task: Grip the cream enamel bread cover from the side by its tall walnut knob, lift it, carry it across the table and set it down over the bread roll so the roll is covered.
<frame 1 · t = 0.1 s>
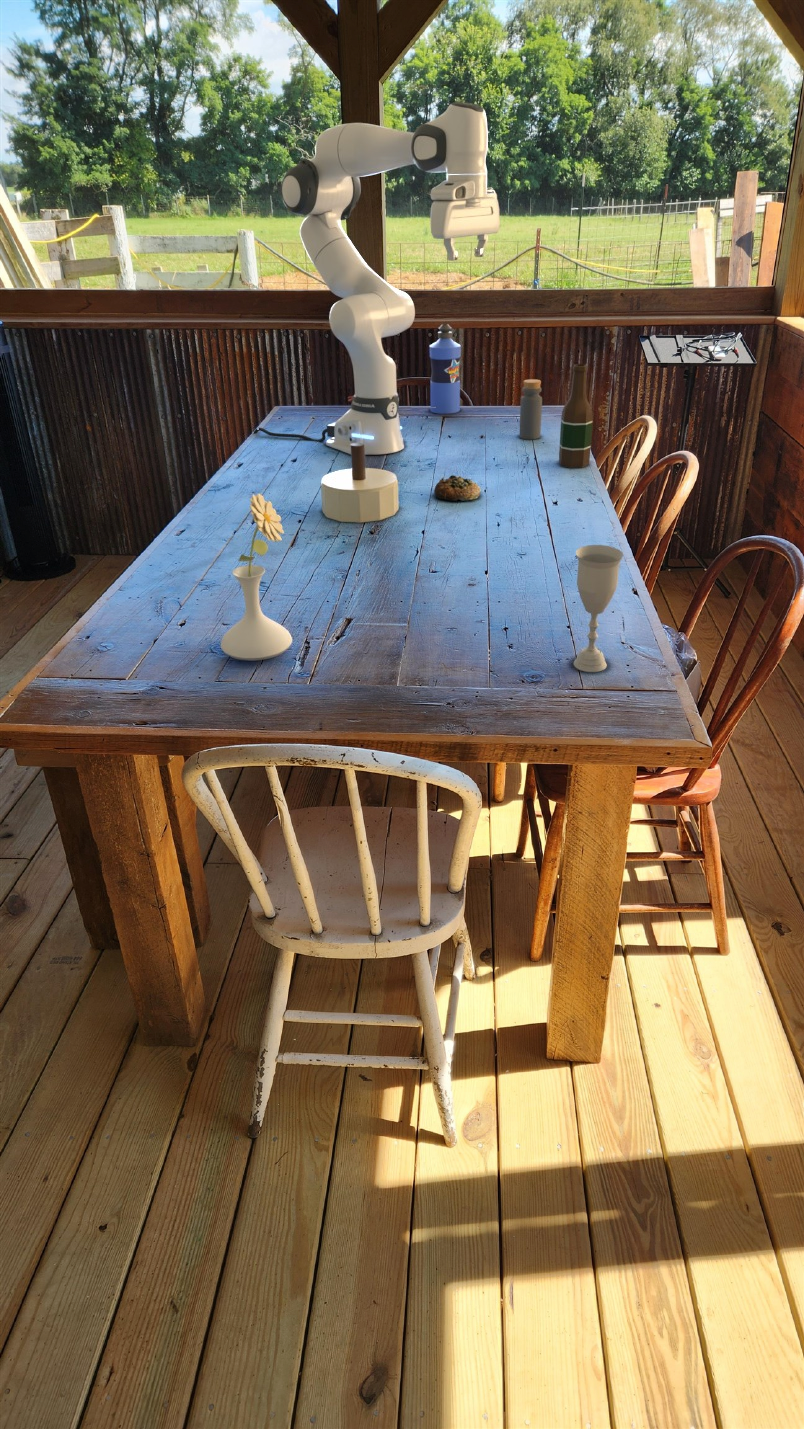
hand: (466, 258, 218), 48 cm above the table, tool pointing down, fingers open, 8 cm apart
beer bottle: (573, 464, 243), on the table
bread cover: (360, 510, 215), on the table
water bottle: (445, 410, 297), on the table
bottle: (529, 437, 267), on the table
flower in vase: (260, 650, 155), on the table
bread roll: (458, 496, 223), on the table
chalice: (590, 665, 148), on the table
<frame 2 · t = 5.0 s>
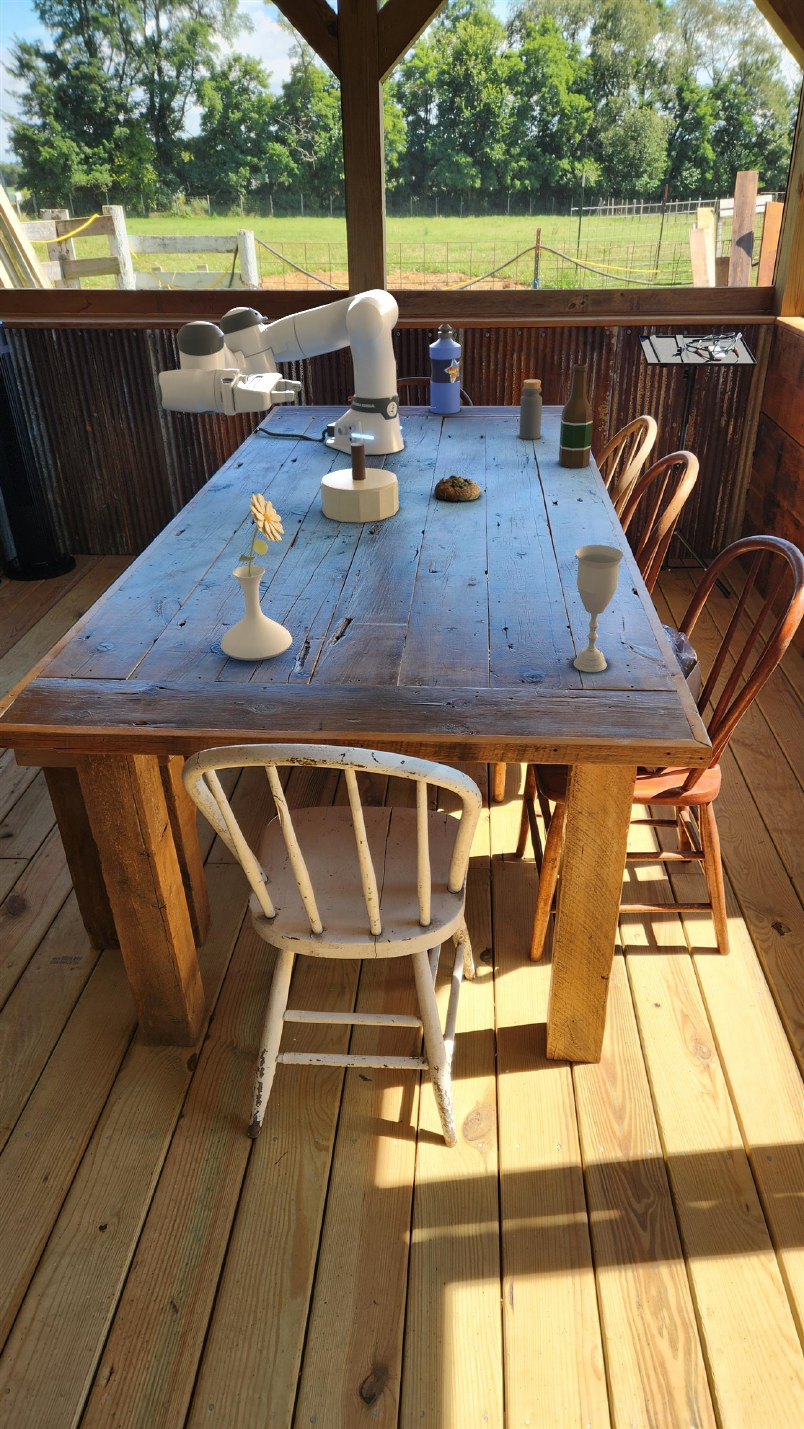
hand: (297, 390, 203), 26 cm above the table, tool horizontal, fingers open, 8 cm apart
nothing on the table moved.
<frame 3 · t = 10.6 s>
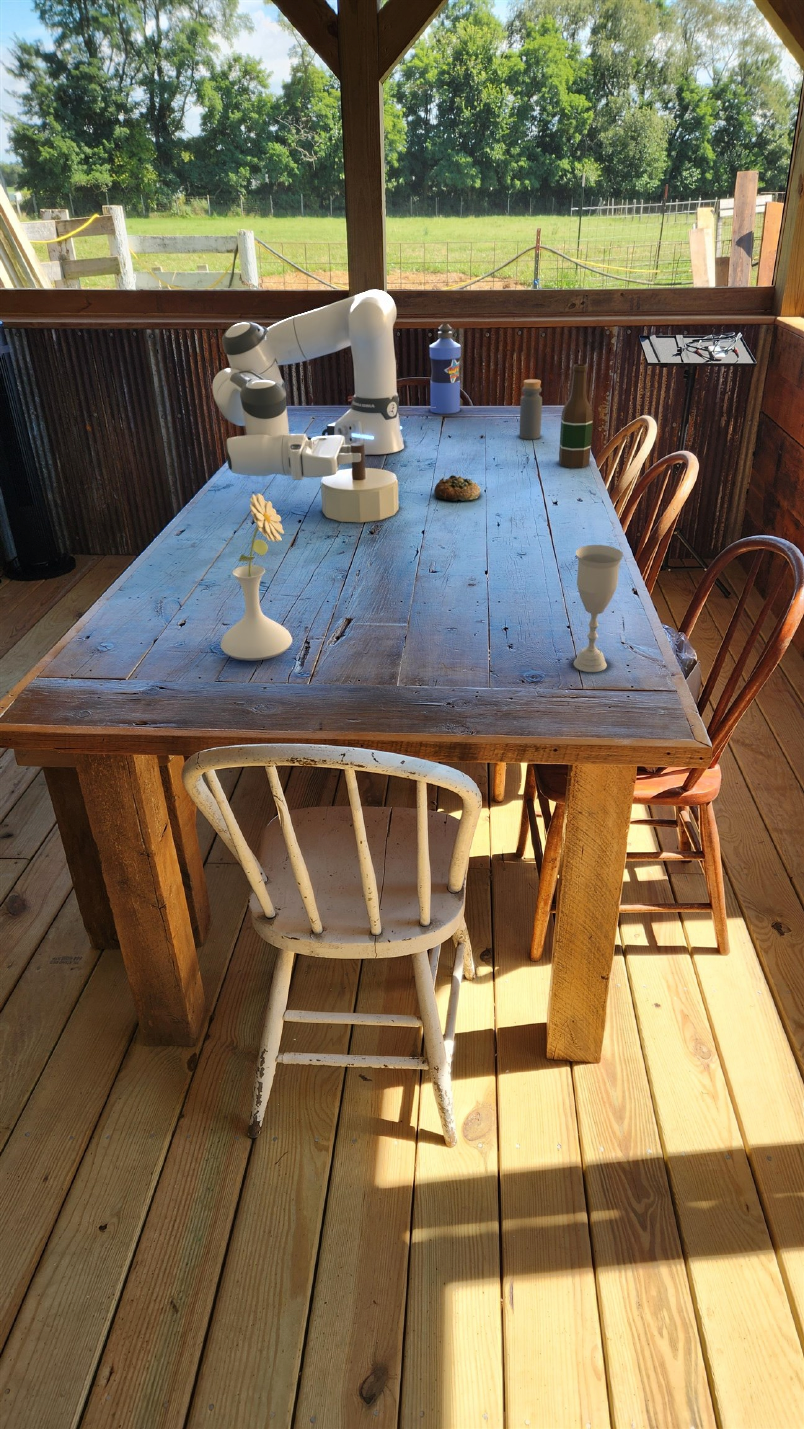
hand: (361, 454, 209), 13 cm above the table, tool horizontal, fingers closed on bread cover, 3 cm apart
bread cover: (360, 509, 215), on the table, touching gripper
everything else where it was.
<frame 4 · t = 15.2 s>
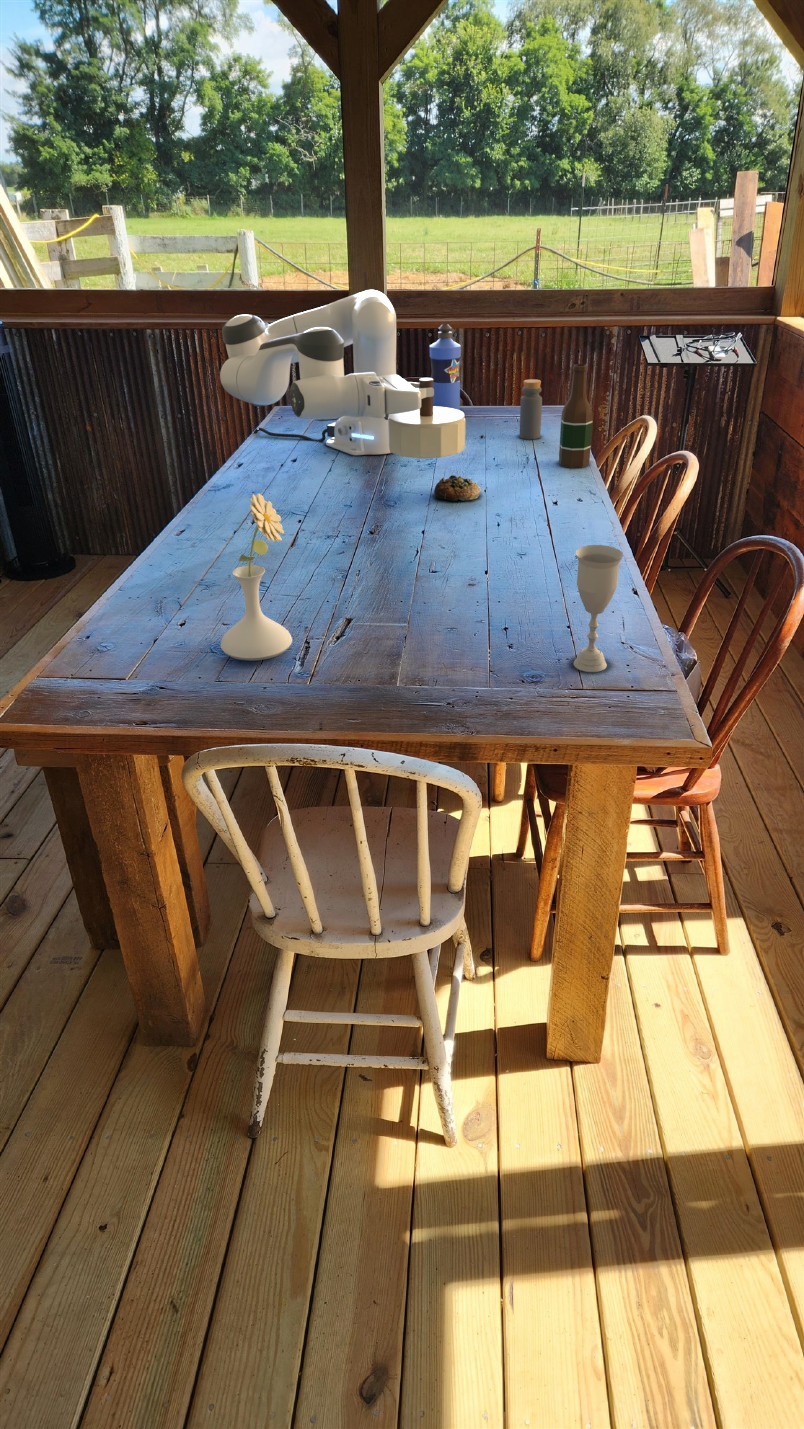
hand: (430, 389, 207), 25 cm above the table, tool horizontal, fingers closed on bread cover, 3 cm apart
bread cover: (426, 447, 213), point 12 cm above the table, touching gripper
everything else where it was.
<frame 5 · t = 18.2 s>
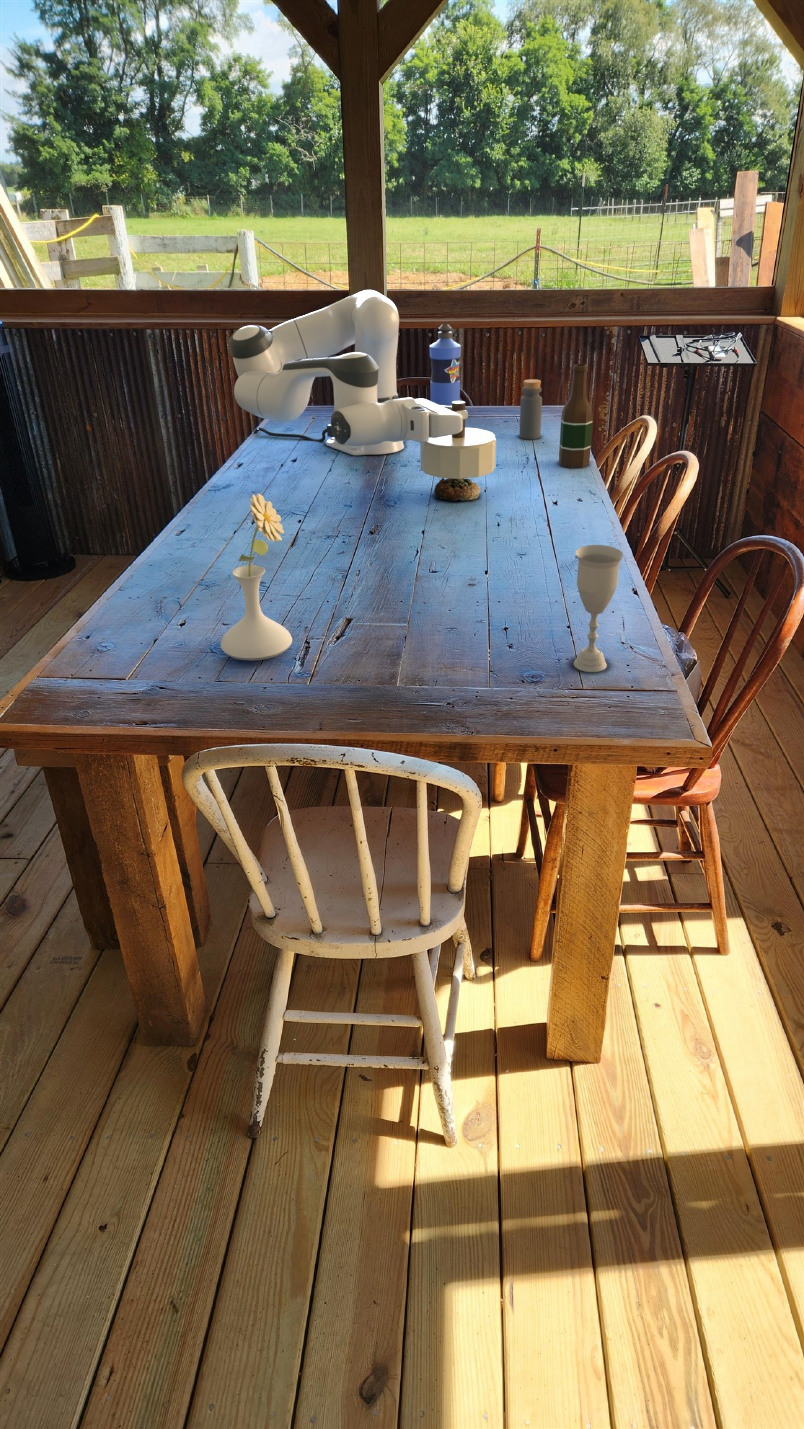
hand: (462, 411, 213), 19 cm above the table, tool horizontal, fingers closed on bread cover, 3 cm apart
bread cover: (458, 468, 219), point 6 cm above the table, touching gripper
everything else where it was.
when the fingers open (13 cm above the table, at t = 20.2 s): bread cover stays where it is, on the table.
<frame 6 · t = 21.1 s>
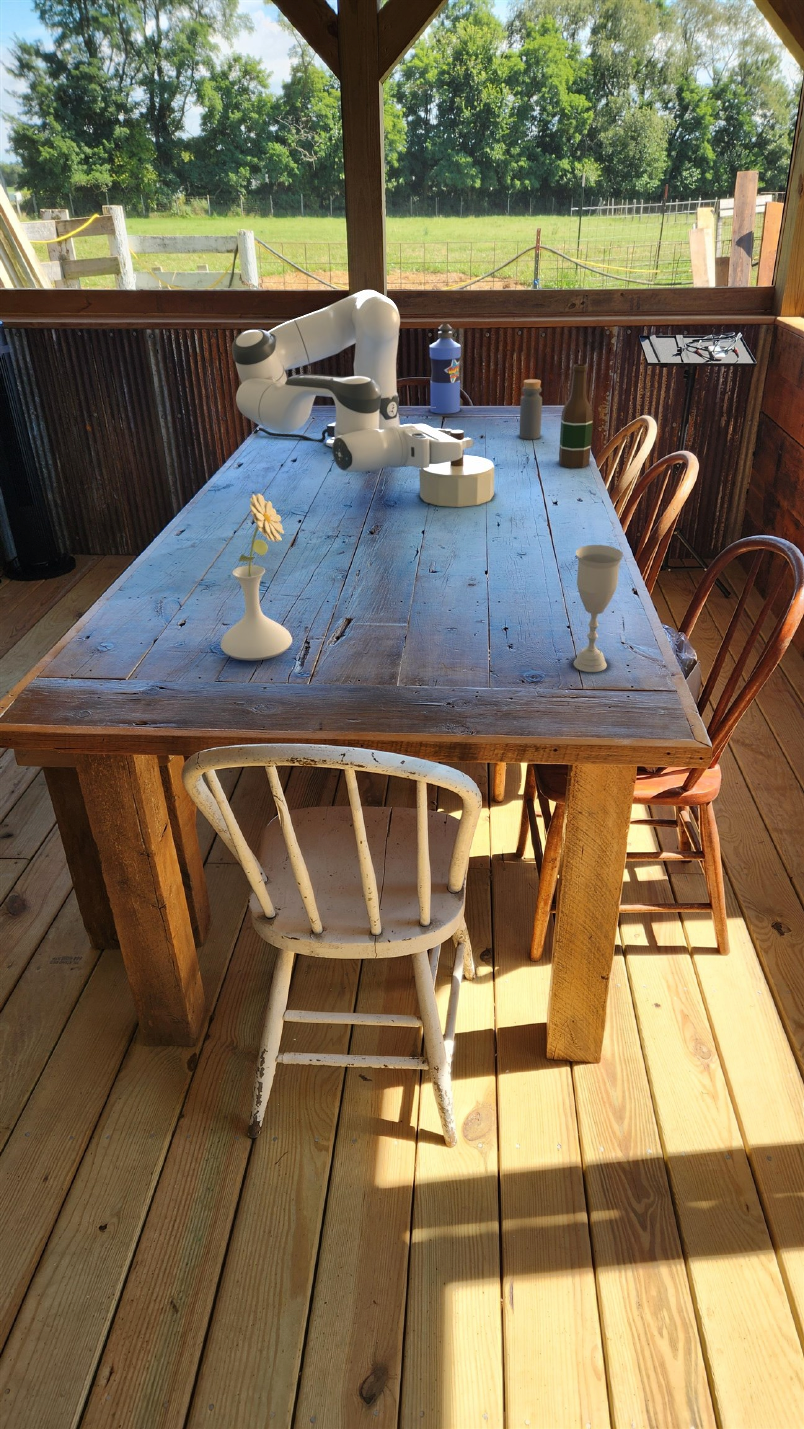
hand: (461, 437, 216), 13 cm above the table, tool horizontal, fingers open, 8 cm apart
bread cover: (456, 495, 223), on the table
everything else where it was.
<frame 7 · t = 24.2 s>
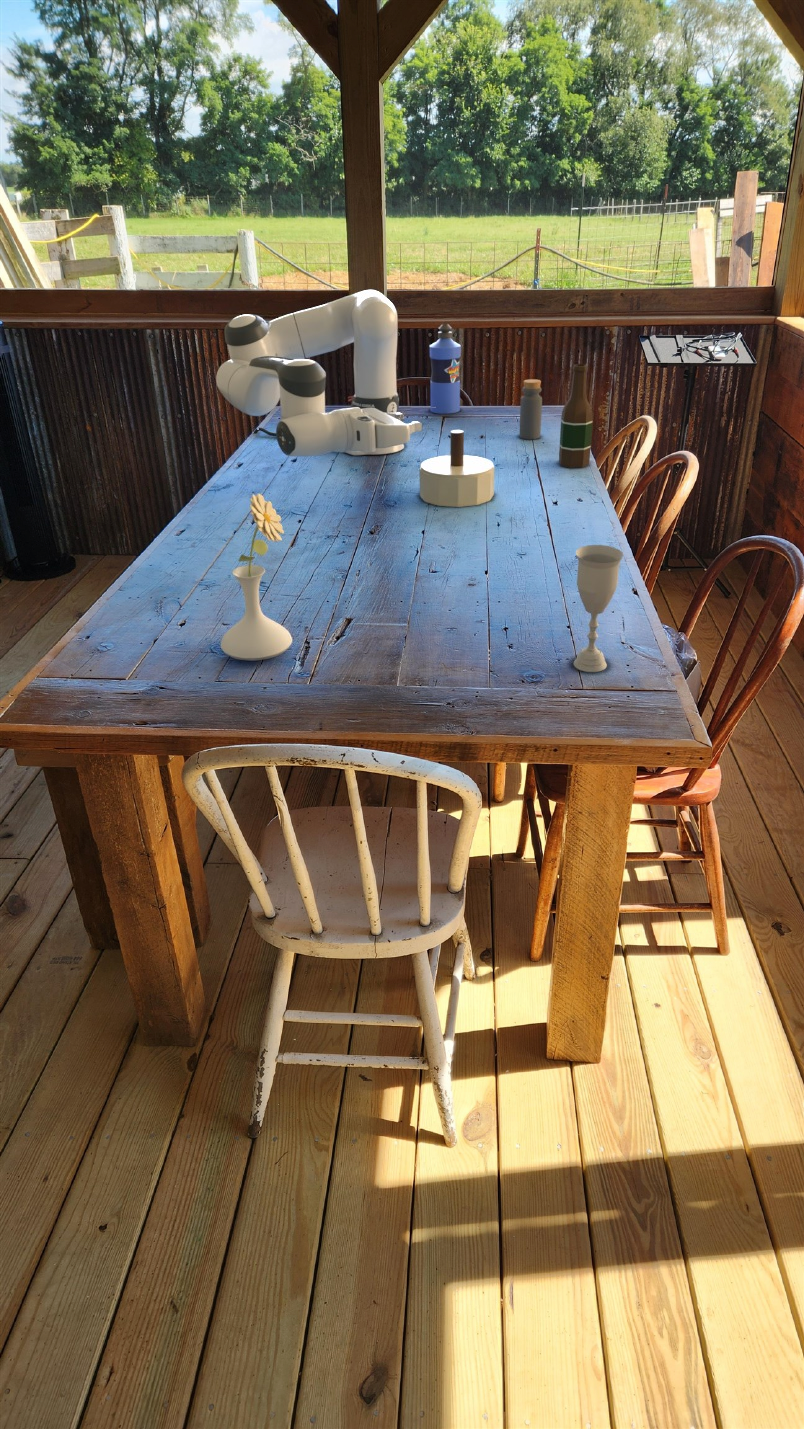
hand: (411, 421, 211), 18 cm above the table, tool horizontal, fingers open, 8 cm apart
nothing on the table moved.
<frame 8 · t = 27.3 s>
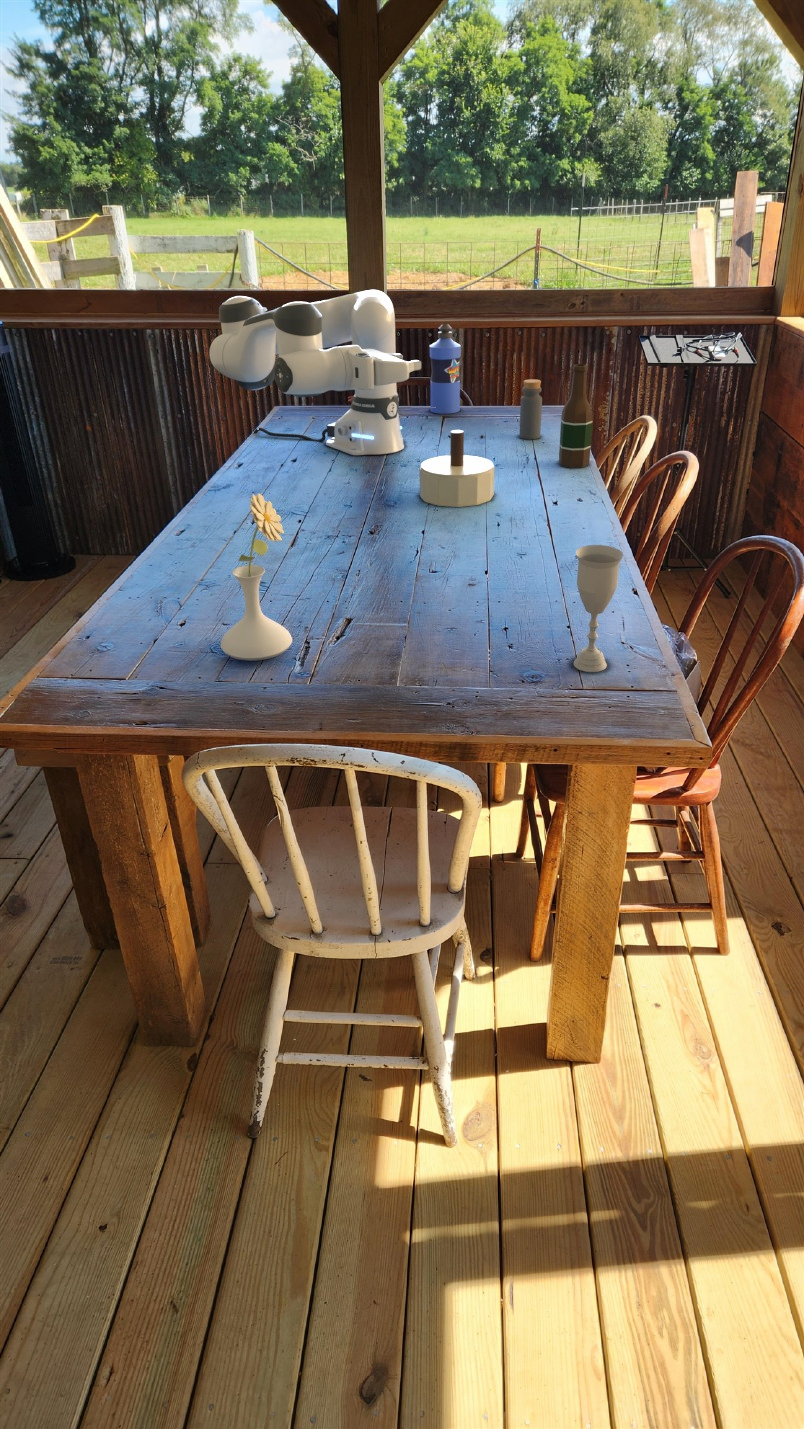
hand: (410, 360, 208), 30 cm above the table, tool horizontal, fingers open, 8 cm apart
nothing on the table moved.
at the end: bread cover 0.3 cm from the bread roll (horizontally); bread cover on the table; bread cover tilted 0° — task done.
